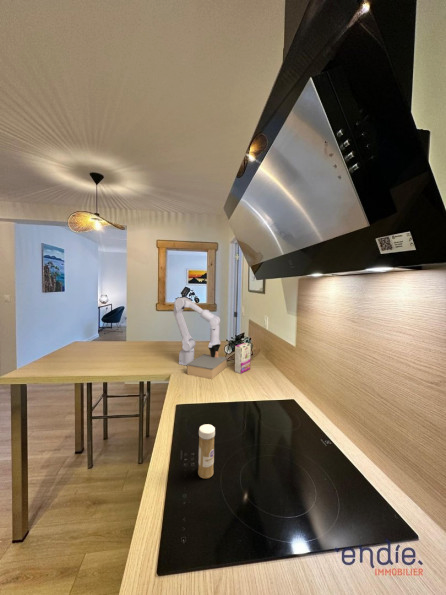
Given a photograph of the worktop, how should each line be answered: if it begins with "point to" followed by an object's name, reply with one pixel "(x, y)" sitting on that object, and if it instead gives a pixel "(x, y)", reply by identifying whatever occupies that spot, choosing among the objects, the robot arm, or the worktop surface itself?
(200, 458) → the sprinkles bottle
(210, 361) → the carton lid
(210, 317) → the robot arm
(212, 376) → the carton
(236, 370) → the candy bar box
